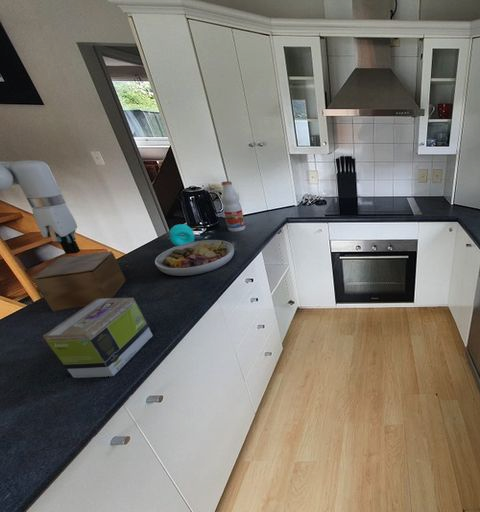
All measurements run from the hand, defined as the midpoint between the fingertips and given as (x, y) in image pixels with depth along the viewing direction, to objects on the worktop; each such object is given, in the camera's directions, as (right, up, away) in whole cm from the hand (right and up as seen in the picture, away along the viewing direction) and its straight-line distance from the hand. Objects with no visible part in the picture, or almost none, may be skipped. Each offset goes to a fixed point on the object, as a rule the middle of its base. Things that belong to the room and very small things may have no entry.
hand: (73, 252), depth 96 cm
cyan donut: (+5, +5, +47) cm, 48 cm away
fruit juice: (+21, +15, +68) cm, 73 cm away
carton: (+1, -16, +6) cm, 17 cm away
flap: (0, -2, +3) cm, 4 cm away
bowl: (+24, -4, +30) cm, 39 cm away
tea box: (+35, -29, -20) cm, 50 cm away
